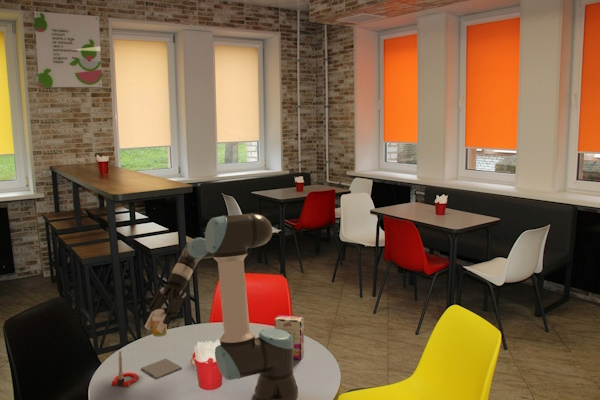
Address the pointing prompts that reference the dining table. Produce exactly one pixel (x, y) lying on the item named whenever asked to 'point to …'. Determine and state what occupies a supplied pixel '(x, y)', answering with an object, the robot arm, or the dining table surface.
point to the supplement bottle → (155, 322)
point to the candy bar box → (293, 332)
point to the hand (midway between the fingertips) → (152, 329)
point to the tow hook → (123, 375)
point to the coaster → (161, 368)
